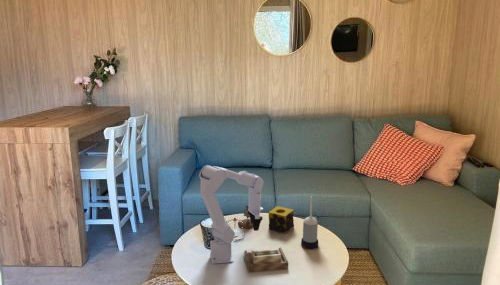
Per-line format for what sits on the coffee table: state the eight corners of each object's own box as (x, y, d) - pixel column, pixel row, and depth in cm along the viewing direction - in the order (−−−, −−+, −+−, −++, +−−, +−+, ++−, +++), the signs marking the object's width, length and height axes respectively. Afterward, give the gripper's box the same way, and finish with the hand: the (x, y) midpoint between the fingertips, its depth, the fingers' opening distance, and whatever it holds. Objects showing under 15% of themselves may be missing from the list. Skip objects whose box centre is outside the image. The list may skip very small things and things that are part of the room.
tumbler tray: (253, 265, 161) (253, 257, 160) (251, 259, 166) (251, 251, 165) (281, 263, 163) (281, 254, 162) (278, 257, 168) (278, 248, 167)
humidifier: (300, 248, 178) (301, 198, 172) (302, 240, 186) (303, 192, 180) (317, 250, 176) (319, 200, 171) (318, 242, 184) (320, 194, 178)
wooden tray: (249, 272, 159) (249, 266, 158) (244, 256, 171) (244, 250, 170) (288, 268, 161) (288, 262, 161) (280, 253, 174) (280, 247, 173)
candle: (294, 227, 200) (294, 209, 198) (285, 234, 192) (285, 216, 190) (277, 222, 206) (277, 205, 203) (268, 229, 197) (268, 212, 195)
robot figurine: (245, 231, 196) (245, 209, 193) (233, 225, 203) (233, 204, 200) (260, 224, 203) (260, 203, 200) (249, 219, 210) (249, 198, 207)
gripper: (266, 205, 170) (265, 233, 173) (260, 193, 184) (259, 219, 187) (250, 206, 169) (250, 234, 172) (245, 194, 183) (245, 220, 186)
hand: (254, 226), depth 180 cm, fingers open, 7 cm apart
